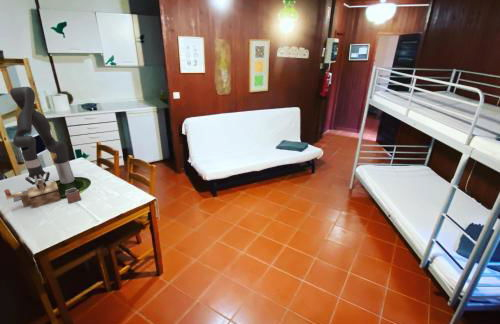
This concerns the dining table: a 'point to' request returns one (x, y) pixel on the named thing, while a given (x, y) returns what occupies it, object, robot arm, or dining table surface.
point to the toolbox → (40, 199)
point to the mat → (19, 196)
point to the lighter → (72, 195)
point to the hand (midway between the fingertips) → (42, 187)
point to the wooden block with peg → (9, 195)
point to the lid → (42, 188)
